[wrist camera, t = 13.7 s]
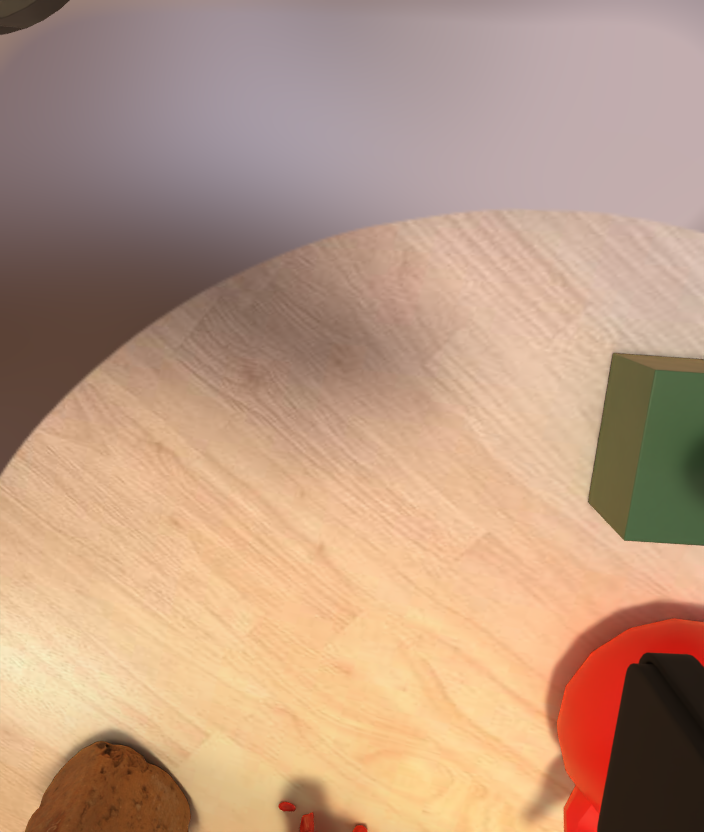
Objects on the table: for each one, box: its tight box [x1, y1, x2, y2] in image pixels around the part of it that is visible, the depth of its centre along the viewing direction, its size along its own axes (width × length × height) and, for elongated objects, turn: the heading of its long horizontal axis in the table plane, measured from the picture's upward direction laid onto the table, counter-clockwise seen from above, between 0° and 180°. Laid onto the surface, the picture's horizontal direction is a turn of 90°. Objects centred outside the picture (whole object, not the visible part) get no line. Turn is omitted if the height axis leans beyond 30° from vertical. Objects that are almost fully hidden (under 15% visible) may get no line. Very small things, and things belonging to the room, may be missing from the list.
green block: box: [588, 353, 704, 546], centre depth 40 cm, size 10×9×6 cm
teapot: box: [557, 618, 704, 832], centre depth 42 cm, size 25×16×12 cm, turn 138°
